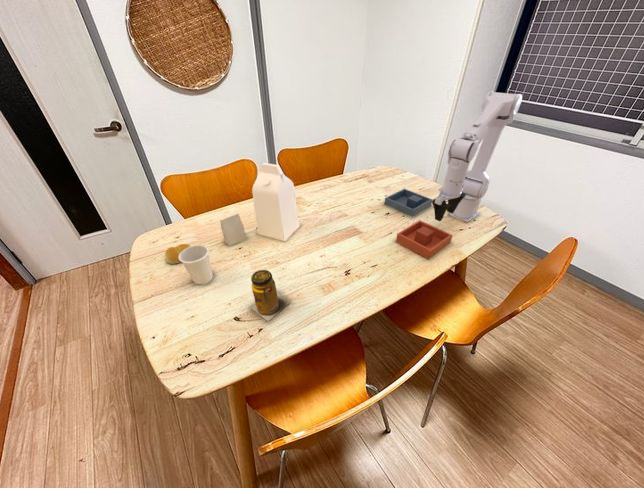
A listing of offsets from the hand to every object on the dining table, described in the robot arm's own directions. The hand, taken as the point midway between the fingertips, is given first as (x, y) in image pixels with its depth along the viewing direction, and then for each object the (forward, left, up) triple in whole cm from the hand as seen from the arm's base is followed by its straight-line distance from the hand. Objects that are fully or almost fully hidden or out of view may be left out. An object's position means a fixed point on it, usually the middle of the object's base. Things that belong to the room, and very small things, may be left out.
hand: (444, 216), depth 96 cm
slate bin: (-11, -22, -9) cm, 26 cm away
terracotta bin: (+7, -2, -9) cm, 12 cm away
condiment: (+64, -13, -10) cm, 66 cm away
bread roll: (+76, -53, -10) cm, 93 cm away
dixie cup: (+74, -37, -10) cm, 83 cm away
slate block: (-11, -19, -9) cm, 24 cm away
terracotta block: (+7, -2, -9) cm, 11 cm away
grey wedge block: (+57, -49, -10) cm, 75 cm away
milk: (+41, -44, -10) cm, 61 cm away
